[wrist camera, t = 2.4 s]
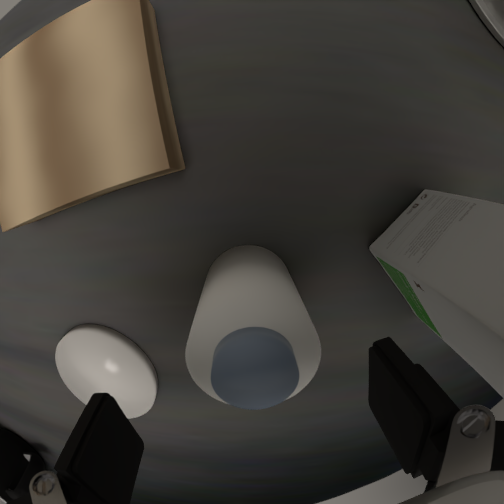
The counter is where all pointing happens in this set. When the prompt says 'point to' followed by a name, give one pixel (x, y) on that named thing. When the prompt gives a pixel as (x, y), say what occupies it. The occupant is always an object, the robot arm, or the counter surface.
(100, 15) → the oak slab
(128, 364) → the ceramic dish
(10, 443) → the mug
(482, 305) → the skincare box
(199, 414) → the counter surface
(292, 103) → the counter surface
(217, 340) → the reagent bottle
